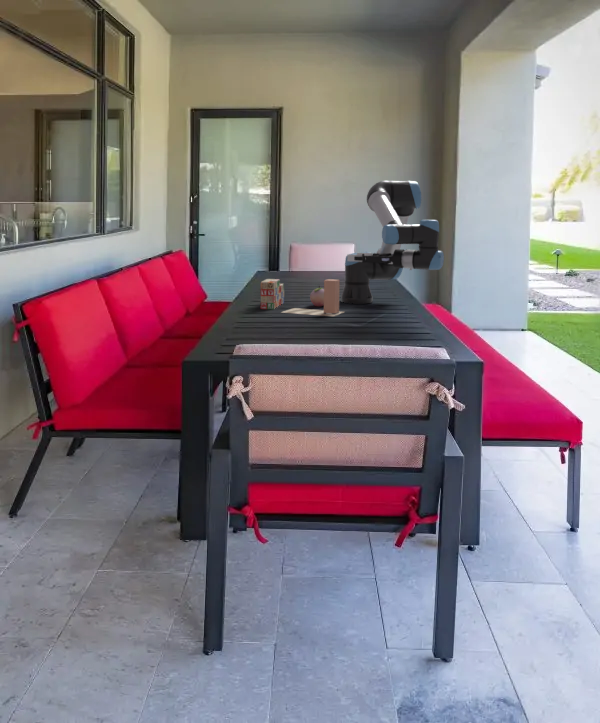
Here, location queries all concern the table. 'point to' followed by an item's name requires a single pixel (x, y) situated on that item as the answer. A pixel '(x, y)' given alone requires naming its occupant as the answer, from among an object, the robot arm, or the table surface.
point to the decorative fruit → (317, 297)
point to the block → (331, 296)
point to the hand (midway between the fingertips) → (352, 256)
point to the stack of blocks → (271, 293)
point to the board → (309, 312)
